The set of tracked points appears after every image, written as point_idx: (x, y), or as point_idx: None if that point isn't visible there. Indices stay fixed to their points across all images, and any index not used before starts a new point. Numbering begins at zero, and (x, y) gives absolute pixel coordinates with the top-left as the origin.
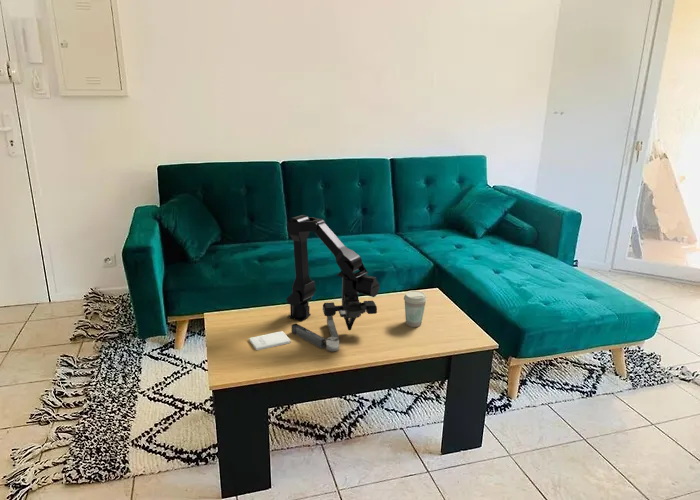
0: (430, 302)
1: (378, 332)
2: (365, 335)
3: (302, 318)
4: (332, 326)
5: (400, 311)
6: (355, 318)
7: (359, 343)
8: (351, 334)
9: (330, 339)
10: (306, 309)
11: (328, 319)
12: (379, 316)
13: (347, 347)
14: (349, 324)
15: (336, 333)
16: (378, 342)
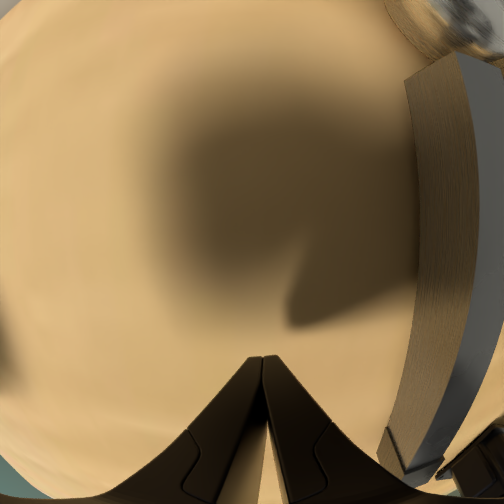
0: (9, 456)
1: (34, 327)
2: (101, 291)
3: (486, 439)
4: (477, 355)
5: (43, 460)
6: (119, 490)
7: (157, 109)
8: (239, 321)
9: (501, 3)
10: (490, 478)
11: (439, 456)
12: (93, 469)
13: (299, 27)
14: (261, 421)
15: (485, 143)
16: (18, 160)
